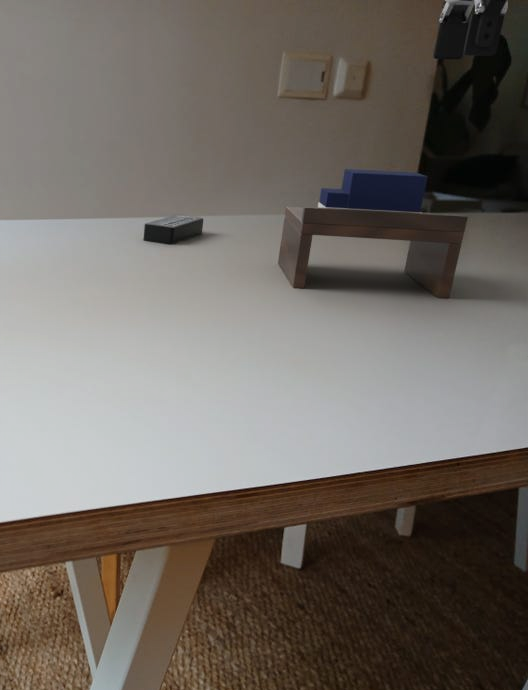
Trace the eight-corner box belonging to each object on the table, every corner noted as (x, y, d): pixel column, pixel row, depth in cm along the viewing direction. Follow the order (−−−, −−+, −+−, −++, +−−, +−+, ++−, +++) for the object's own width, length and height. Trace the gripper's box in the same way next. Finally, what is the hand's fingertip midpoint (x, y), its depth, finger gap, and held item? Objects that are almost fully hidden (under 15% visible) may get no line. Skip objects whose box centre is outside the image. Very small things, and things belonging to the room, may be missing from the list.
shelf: (414, 272, 89) (429, 200, 86) (449, 298, 78) (468, 216, 75) (277, 263, 91) (287, 192, 88) (292, 287, 80) (305, 207, 77)
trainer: (408, 217, 83) (417, 172, 82) (420, 224, 79) (430, 176, 78) (316, 212, 85) (323, 167, 83) (324, 218, 81) (331, 171, 79)
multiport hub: (142, 240, 102) (143, 223, 102) (175, 229, 111) (176, 214, 110) (171, 244, 100) (173, 227, 99) (202, 233, 109) (204, 217, 108)
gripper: (578, -140, 70) (531, 54, 76) (501, -97, 86) (468, 61, 92) (494, -139, 71) (454, 52, 77) (434, -97, 87) (405, 59, 93)
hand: (462, 57), depth 85 cm, fingers open, 9 cm apart
